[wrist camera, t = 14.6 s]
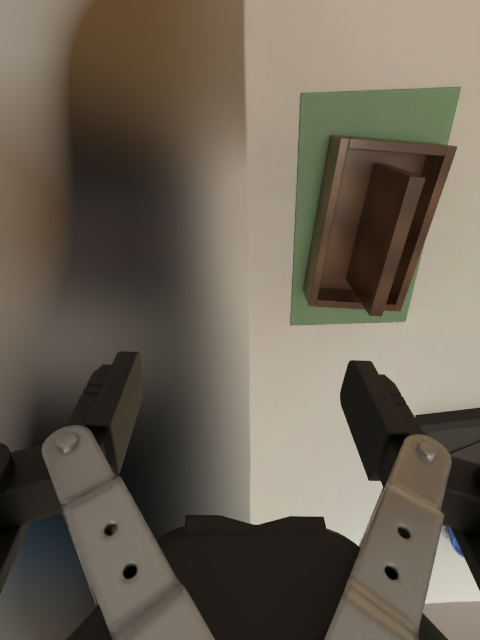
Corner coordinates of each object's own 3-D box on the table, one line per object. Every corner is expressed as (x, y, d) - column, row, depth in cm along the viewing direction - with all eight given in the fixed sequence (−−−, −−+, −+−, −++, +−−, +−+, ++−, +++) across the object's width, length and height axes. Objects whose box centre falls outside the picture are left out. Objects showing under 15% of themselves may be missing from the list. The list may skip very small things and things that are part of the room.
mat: (301, 93, 31) (301, 93, 31) (459, 87, 31) (461, 87, 31) (290, 324, 44) (290, 325, 43) (404, 320, 43) (405, 321, 43)
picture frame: (408, 473, 58) (521, 461, 57) (414, 485, 56) (531, 473, 55) (415, 415, 52) (543, 400, 50) (422, 427, 50) (556, 411, 48)
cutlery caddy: (329, 134, 33) (358, 142, 25) (434, 143, 33) (494, 152, 26) (302, 290, 41) (317, 331, 33) (387, 295, 41) (421, 337, 34)
